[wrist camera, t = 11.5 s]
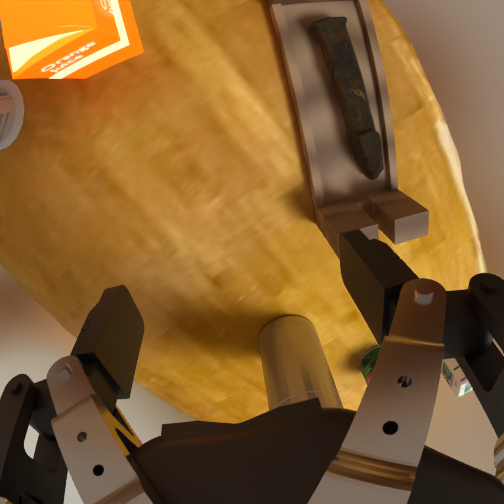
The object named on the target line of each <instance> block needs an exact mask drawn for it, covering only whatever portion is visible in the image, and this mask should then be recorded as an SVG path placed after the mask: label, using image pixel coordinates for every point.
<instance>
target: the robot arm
mask: <svg viewBox="0 0 504 504" xmlns="http://www.w3.org/2000/svg"><path fill="white" fill-rule="evenodd" d="M338 243H339V255H340V268H341V275H342V279H343V282H344V285H345V287H346V288H347V290H348V292H349V294H350V295H351V297H352V299H353V300H354V302H355V304H356V305H357V307H358V309H359V311H360V312H361V314H362V316H363V317H364V319H365V321H366V323H367V324H368V326H369V328H370V330H371V331H372V333H373V335H374V337H375V339H376V340H377V342H378V344H379V346H380V347H381V349H380V352H379V355H378V358H377V361H376V364H375V366H374V369H373V372H372V375H371V377H370V380H369V383H368V385H367V388H366V390H365V393H364V396H363V398H362V401H361V403H360V405H359V408H358V410H357V411H353V410H349V409H343V406H342V403H341V400H340V397H339V394H338V391H337V389H336V386H335V383H334V380H333V377H332V374H331V371H330V369H329V366H328V363H327V360H326V357H325V354H324V352H323V349H322V346H321V343H320V340H319V338H318V335H317V332H316V329H315V327H314V325H313V324H312V322H311V321H309V320H308V319H306V318H303V317H300V316H285V317H281V318H278V319H275V320H274V321H272V322H270V323H269V324H267V325H266V326H265V327H264V328H263V329H262V331H261V333H260V335H259V338H258V339H259V348H260V355H261V362H262V368H263V374H264V380H265V386H266V392H267V399H268V405H269V411H268V412H266V413H263V414H261V415H259V416H256V417H254V418H252V419H249V420H247V421H244V422H242V423H237V424H231V423H217V422H206V421H191V422H182V423H171V424H162V431H161V436H158V437H156V438H154V439H151V440H149V441H148V442H146V443H144V444H142V442H141V441H140V440H139V438H138V437H137V435H136V434H135V432H134V431H133V429H132V428H131V426H130V425H129V423H128V422H127V420H126V419H125V417H124V416H123V414H122V412H121V411H120V410H119V408H118V407H117V406H116V402H117V399H128V398H130V393H131V388H132V383H133V378H134V374H135V369H136V364H137V360H138V356H139V351H140V347H141V343H142V338H143V334H144V322H143V319H142V316H141V314H140V312H139V310H138V309H137V307H136V305H135V303H134V301H133V299H132V297H131V295H130V293H129V291H128V289H127V288H126V286H124V285H120V286H116V287H112V288H107V289H105V290H104V292H103V294H102V296H101V298H100V301H99V303H98V304H97V305H96V306H95V307H94V308H93V309H92V310H91V311H90V312H89V314H88V316H87V318H86V320H85V324H84V325H83V327H82V329H81V332H80V334H79V336H78V338H77V341H76V343H75V345H74V347H73V350H72V352H71V354H70V356H66V357H63V358H61V359H60V360H58V361H56V362H55V363H54V364H53V365H52V367H51V368H50V369H49V371H48V374H47V379H44V380H42V381H39V382H37V383H33V381H32V380H31V379H30V378H29V377H28V376H27V375H26V374H19V375H17V376H15V377H14V378H12V379H11V380H10V381H9V382H8V384H7V385H6V387H5V389H4V391H3V394H2V396H1V398H0V504H63V503H64V494H65V487H66V479H67V472H68V470H69V473H70V475H71V477H72V480H73V482H74V484H75V486H76V488H77V490H78V493H79V495H80V497H81V499H82V501H83V503H84V504H504V356H503V355H502V353H501V352H500V351H499V349H498V348H497V346H496V345H495V344H494V342H493V341H492V340H493V338H494V339H495V341H496V342H497V344H498V345H499V346H500V348H501V349H502V351H503V353H504V280H503V279H501V278H500V277H498V276H496V275H493V274H489V273H480V274H477V275H475V276H473V277H472V278H471V279H470V282H469V286H468V289H466V290H455V291H446V290H445V289H444V287H443V286H442V285H441V284H440V283H438V282H436V281H434V280H431V279H425V278H418V276H417V275H416V274H415V273H414V272H413V271H412V270H411V269H410V268H409V267H408V266H407V265H406V264H405V262H404V261H403V260H402V259H400V257H399V256H398V255H397V254H396V253H394V251H393V250H392V249H391V248H390V247H389V246H388V245H387V244H386V243H384V242H382V241H379V240H377V239H371V240H369V239H368V238H367V237H366V235H365V234H364V233H363V232H362V231H361V230H360V229H355V230H351V231H347V232H343V233H339V235H338ZM451 358H455V359H456V361H457V363H458V364H459V366H460V368H461V369H462V371H463V373H464V375H465V376H466V378H467V380H468V381H469V383H470V385H471V387H472V389H473V390H474V392H475V394H476V396H477V397H478V399H479V401H480V403H481V405H482V407H483V409H484V411H485V412H486V414H487V416H488V418H489V420H490V422H491V424H492V426H493V428H494V430H495V432H496V434H497V436H498V440H497V442H496V445H495V448H494V459H495V463H494V465H495V468H496V475H495V476H493V475H491V474H489V473H486V472H484V471H481V470H479V469H477V468H474V467H472V466H470V465H467V464H465V463H463V462H460V461H458V460H456V459H454V458H451V457H449V456H447V455H445V454H443V453H441V452H438V451H436V450H434V449H432V448H430V447H428V446H426V445H425V441H426V437H427V433H428V430H429V426H430V422H431V418H432V413H433V409H434V405H435V400H436V395H437V390H438V385H439V380H440V374H441V368H442V361H443V359H451ZM29 425H31V426H32V427H33V428H34V429H35V430H36V431H37V432H38V433H39V437H38V441H37V445H36V449H35V453H34V457H33V459H32V458H30V457H29V456H28V455H27V453H26V452H25V449H24V439H25V436H26V433H27V429H28V426H29Z"/></svg>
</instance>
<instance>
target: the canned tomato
mask: <svg viewBox="0 0 504 504" xmlns="http://www.w3.org/2000/svg"><path fill="white" fill-rule="evenodd" d="M380 349H381V347H380V346H379V345H378V346H376V347H374V348H372V349H370V350H369V351H368V352H366V353H365V354H364V355H363V357H362V358H361V360H360V362H359V367H360V369H361V371H362V374H363V376H364V378H365V381H366V383H367V385H368V383H369V380H370V377H371V375H372V372H373V369H374V366H375V364H376V361H377V358H378V355H379V352H380Z"/></svg>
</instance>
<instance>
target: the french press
mask: <svg viewBox="0 0 504 504" xmlns="http://www.w3.org/2000/svg"><path fill="white" fill-rule="evenodd" d="M24 111H25V109H24V102H23V96H22V94H21V92H20V90H19V88H18V86H17V85H15V84H14V83H13V82H11V81H10V80H0V150H2V149H5V148H7V147H9V146H10V145H11V144H12V143H13V142H14V140H15V139H16V138H17V136H18V134H19V132H20V130H21V127H22V125H23V118H24Z"/></svg>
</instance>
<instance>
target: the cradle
mask: <svg viewBox="0 0 504 504" xmlns="http://www.w3.org/2000/svg"><path fill="white" fill-rule="evenodd" d="M266 1H267V4H268V8H269V11H270V15H271V18H272V22H273V25H274V29H275V32H276V36H277V40H278V44H279V47H280V51H281V55H282V59H283V63H284V67H285V71H286V75H287V79H288V83H289V87H290V92H291V96H292V100H293V105H294V109H295V114H296V118H297V123H298V128H299V132H300V137H301V142H302V147H303V152H304V157H305V162H306V168H307V173H308V178H309V184H310V189H311V195H312V201H313V207H314V213H315V219H316V225H317V226H318V228H319V229H320V231H321V232H322V234H323V235H324V237H325V238H326V240H327V241H328V243H329V244H330V246H331V247H332V249H333V250H334V252H335V253H336V255H337V256H338V258H339V260H340V255H339V243H338V235H339V233H343V232H347V231H351V230H355V229H360V230H361V231H362V232H363V233H364V234H365V235H366V237H367V238H368V239H369V240H371V239H377V240H379V237H378V228H379V229H380V230H381V231H382V232H383V233H384V234H385V235H386V236H387V237H388V238H389V239H390V240H391V241H392V242H393V243H394V244H395V245H396V244H399V243H402V242H406V241H409V240H413V239H416V238H419V237H423V236H426V235H428V220H429V211H428V210H427V209H426V208H424V207H423V206H421V205H420V204H419V203H417V202H416V201H414V200H413V199H411V198H410V197H408V196H407V195H405V194H404V193H402V192H401V191H399V190H398V178H397V164H396V152H395V142H394V133H393V125H392V117H391V110H390V103H389V97H388V91H387V85H386V79H385V74H384V69H383V64H382V59H381V54H380V49H379V45H378V41H377V37H376V32H375V29H374V25H373V21H372V17H371V13H370V10H369V6H368V3H367V0H266ZM342 16H343V17H347V22H346V27H347V31H348V34H349V37H350V39H351V43H352V45H353V48H354V51H355V54H356V57H357V60H358V64H359V67H360V70H361V73H362V77H363V81H364V84H365V88H366V93H367V97H368V101H369V105H370V111H371V114H372V118H373V121H374V124H375V129H376V131H377V132H379V134H380V137H381V142H382V156H383V165H384V169H383V170H382V172H381V173H380V174H379V176H378V177H377V178H376V179H374V180H370V179H368V178H367V177H366V176H365V175H364V174H363V173H362V171H361V169H360V167H359V165H358V163H357V161H356V159H355V157H354V155H353V153H352V151H351V148H350V146H349V143H348V141H347V138H346V133H347V132H346V126H345V123H344V118H343V115H342V112H341V108H340V105H339V101H338V98H337V95H336V92H335V89H334V86H333V84H332V79H331V75H330V72H329V69H328V68H327V66H326V63H325V60H324V58H323V53H322V50H321V47H320V44H319V43H318V42H317V41H316V37H315V35H316V33H315V32H314V31H313V30H311V29H310V25H311V23H313V22H316V21H318V20H321V19H324V18H327V17H342Z"/></svg>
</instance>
